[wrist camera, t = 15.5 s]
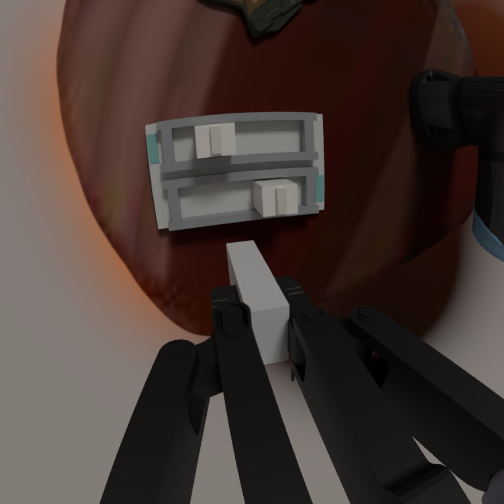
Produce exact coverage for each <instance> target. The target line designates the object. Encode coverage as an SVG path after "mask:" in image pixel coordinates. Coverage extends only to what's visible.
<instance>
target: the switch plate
mask: <svg viewBox="0 0 504 504" xmlns="http://www.w3.org/2000/svg"><path fill="white" fill-rule="evenodd" d="M233 122H234V123H235V138H236V152H237V155H227V156H216V157H207V158H198V159H197V154H196V142H195V130H194V127H195V126H199V125H208V124H219V123H233ZM145 128H146V139H147V150H148V159H149V168H150V176H151V184H152V191H153V198H154V205H155V211H156V217H157V223H158V229H163V228H169V231H173V230H180V229H188V228H195V227H202V226H210V225H217V224H225V223H233V222H241V221H250V220H258V219H267V218H276V217H285V216H294V215H304V214H314V213H319V210H321V209H324V147H323V122H322V114H317V113H305V112H258V113H235V114H221V115H209V116H199V117H190V118H182V119H175V120H168V121H161V122H156V124H150V125H145ZM273 178H285V179H287V180H290V181H292V182H294V183H297V192H298V213H297V214H287V215H278V216H269V217H263V216H262V215H261V214H260V213H259V212H258V211H257V210H256V209H255V208H254V204H253V187H252V180H260V179H273Z"/></svg>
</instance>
